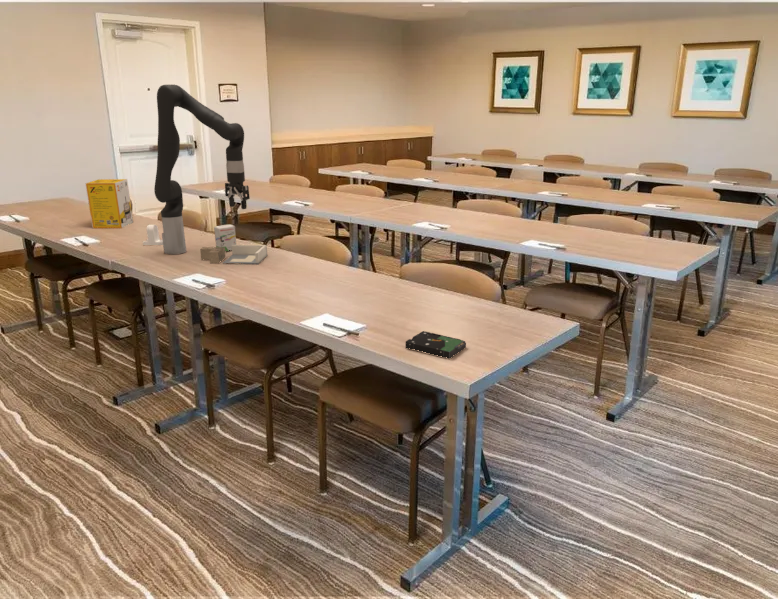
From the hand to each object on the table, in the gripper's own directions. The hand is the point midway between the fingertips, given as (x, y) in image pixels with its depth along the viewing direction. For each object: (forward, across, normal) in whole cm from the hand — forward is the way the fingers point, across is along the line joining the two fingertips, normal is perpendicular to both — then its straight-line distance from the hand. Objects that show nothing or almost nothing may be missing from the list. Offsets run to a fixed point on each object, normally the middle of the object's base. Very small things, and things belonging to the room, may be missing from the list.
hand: (238, 207), depth 277 cm
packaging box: (+25, -116, -2) cm, 119 cm away
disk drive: (+21, +131, -30) cm, 136 cm away
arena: (+22, +6, -2) cm, 23 cm away
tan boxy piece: (+23, -5, -13) cm, 26 cm away
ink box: (+23, -15, +3) cm, 28 cm away
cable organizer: (+24, -54, -12) cm, 60 cm away
